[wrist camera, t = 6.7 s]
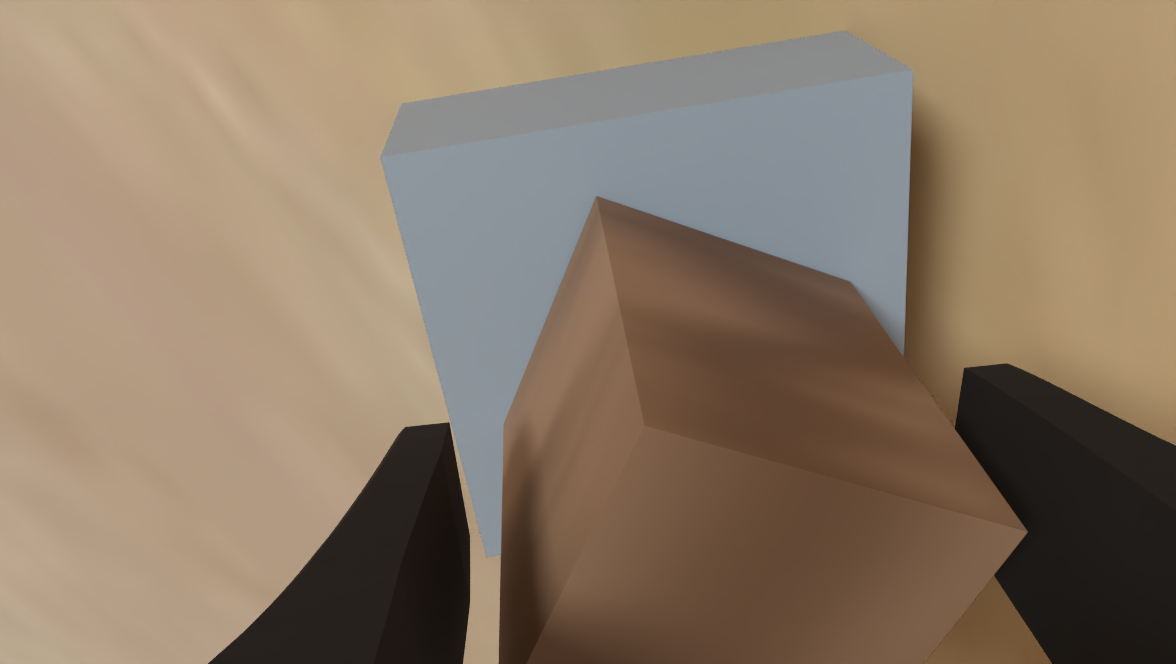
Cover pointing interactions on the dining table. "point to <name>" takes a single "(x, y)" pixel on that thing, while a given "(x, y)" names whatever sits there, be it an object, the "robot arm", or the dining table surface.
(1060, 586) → the robot arm
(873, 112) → the base block
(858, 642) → the walnut block
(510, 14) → the dining table surface
